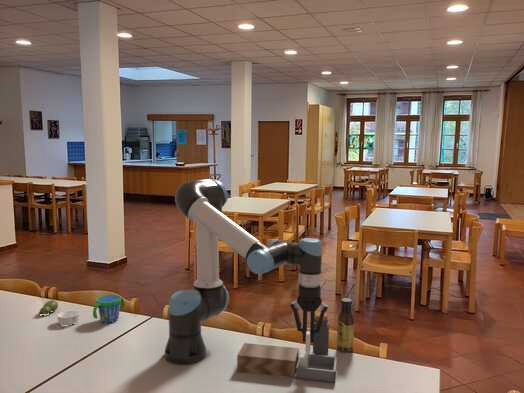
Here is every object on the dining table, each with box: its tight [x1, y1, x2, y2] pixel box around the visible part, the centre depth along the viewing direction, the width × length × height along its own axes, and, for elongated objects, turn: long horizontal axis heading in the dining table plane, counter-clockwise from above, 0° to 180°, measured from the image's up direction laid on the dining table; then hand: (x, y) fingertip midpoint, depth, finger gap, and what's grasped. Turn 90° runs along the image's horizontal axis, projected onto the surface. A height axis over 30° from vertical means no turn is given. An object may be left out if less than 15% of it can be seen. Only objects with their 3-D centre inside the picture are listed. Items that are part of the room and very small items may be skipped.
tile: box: [299, 349, 310, 368], centre depth 158 cm, size 6×6×2 cm
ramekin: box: [56, 309, 80, 325], centre depth 200 cm, size 9×9×4 cm
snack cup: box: [92, 294, 126, 323], centre depth 203 cm, size 16×10×10 cm
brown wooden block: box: [236, 342, 300, 379], centre depth 161 cm, size 20×10×6 cm, turn 78°
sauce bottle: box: [336, 297, 355, 353], centre depth 176 cm, size 6×6×20 cm
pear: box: [38, 299, 59, 315], centre depth 212 cm, size 6×5×10 cm
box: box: [295, 352, 338, 384], centre depth 158 cm, size 13×11×4 cm
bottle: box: [312, 311, 330, 356], centre depth 173 cm, size 6×6×15 cm
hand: (308, 350), depth 158 cm, fingers closed
